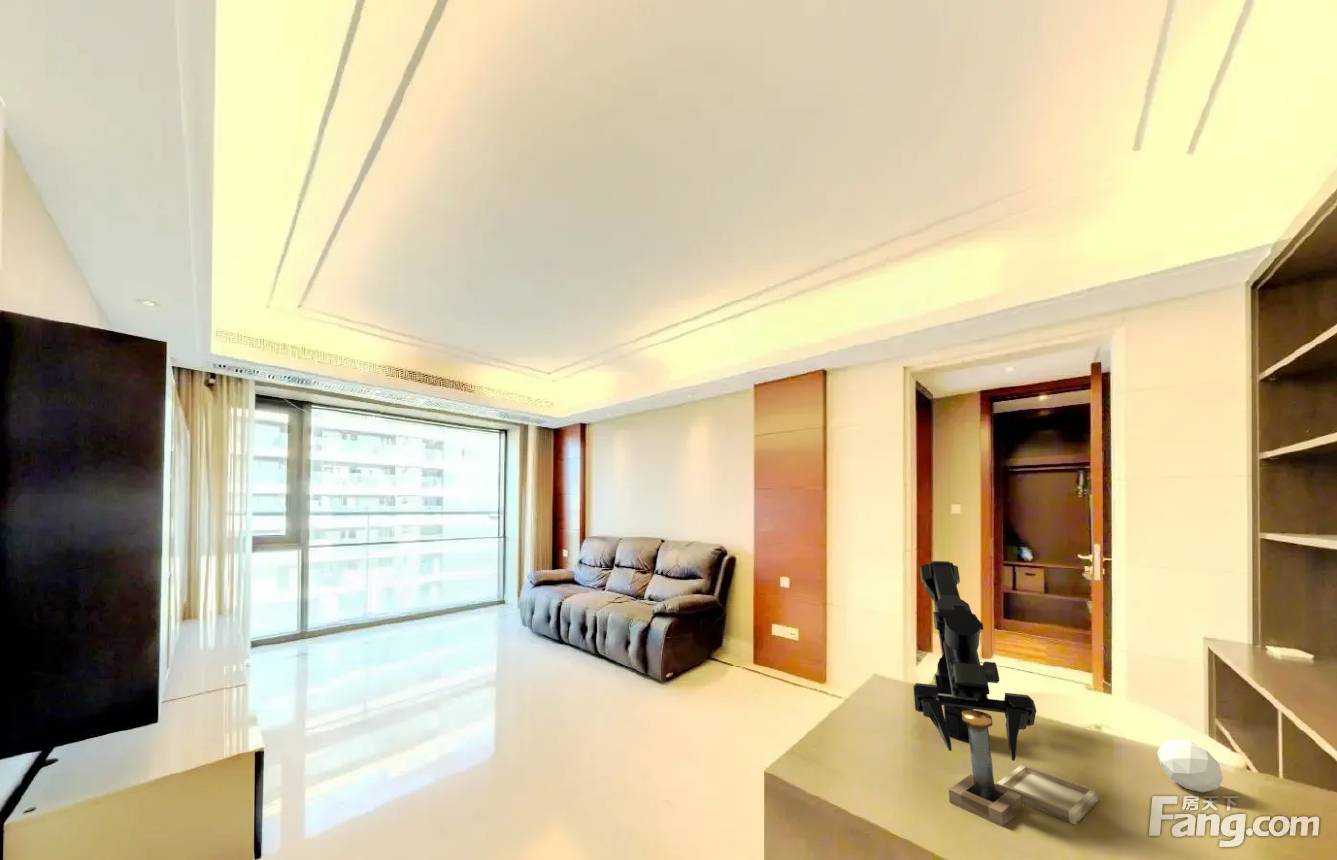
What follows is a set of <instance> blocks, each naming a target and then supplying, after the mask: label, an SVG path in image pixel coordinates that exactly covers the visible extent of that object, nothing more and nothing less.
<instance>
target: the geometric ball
mask: <svg viewBox="0 0 1337 860" xmlns="http://www.w3.org/2000/svg"><path fill="white" fill-rule="evenodd" d="M1157 757H1158V761H1159V764H1160V767H1161V768H1162V770H1163V771H1164V772H1165V774H1166V775H1167V776H1168V777H1169V778H1170V779H1171V780H1173V781H1174V782H1176V783H1177V784H1179V786H1182V787H1183V788H1185V789H1186V790H1187V789H1189V790H1188V791H1193V792H1198V793H1206V792H1210V791H1211V792H1212V791H1214V790H1218V789H1219V787H1220V785H1221V783H1222V781H1223V779H1224V776H1223V773H1222V770H1221V769H1222V768H1221V764H1220V763H1219V761H1218V760H1216V759H1215V757H1214V756H1212V754H1210V752H1209V751H1207V749H1205V748H1204V747H1202V746H1200V745H1199V744H1197V743H1196V742H1194V741H1192V740H1188V739H1187V740H1186V739H1180V738H1179V739H1178V738H1175V739H1174V738H1173V739H1170V740H1168V741H1163V742H1162V743H1161V745H1160V747H1159V748H1158V750H1157Z"/></svg>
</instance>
